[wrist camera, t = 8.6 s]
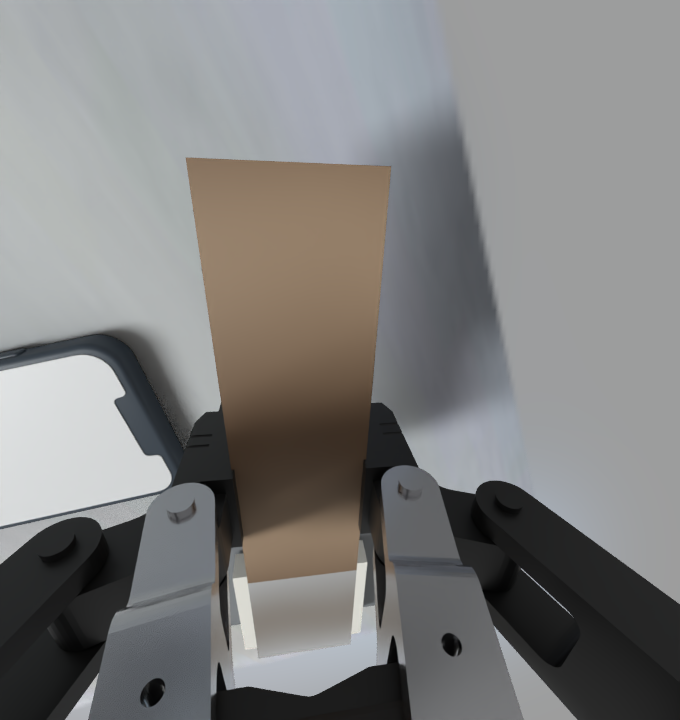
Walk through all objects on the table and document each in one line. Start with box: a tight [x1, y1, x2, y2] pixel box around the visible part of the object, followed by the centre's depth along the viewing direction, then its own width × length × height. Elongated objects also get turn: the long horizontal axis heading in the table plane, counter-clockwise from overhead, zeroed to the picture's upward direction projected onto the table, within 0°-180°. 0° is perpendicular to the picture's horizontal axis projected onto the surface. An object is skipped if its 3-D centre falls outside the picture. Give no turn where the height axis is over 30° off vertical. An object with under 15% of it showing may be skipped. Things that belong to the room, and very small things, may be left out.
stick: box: [186, 158, 391, 658], centre depth 10 cm, size 14×3×4 cm, turn 178°
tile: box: [232, 540, 367, 650], centre depth 23 cm, size 2×8×8 cm
